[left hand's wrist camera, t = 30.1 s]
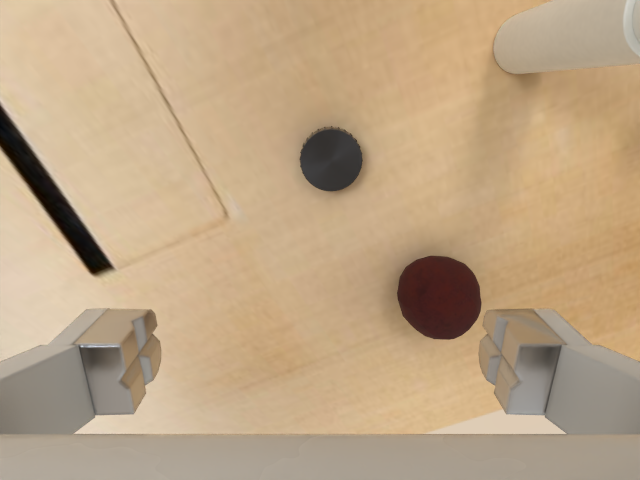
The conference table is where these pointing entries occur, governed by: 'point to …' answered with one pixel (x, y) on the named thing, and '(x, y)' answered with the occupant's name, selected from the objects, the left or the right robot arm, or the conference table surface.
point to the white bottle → (570, 36)
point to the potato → (439, 297)
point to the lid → (331, 159)
